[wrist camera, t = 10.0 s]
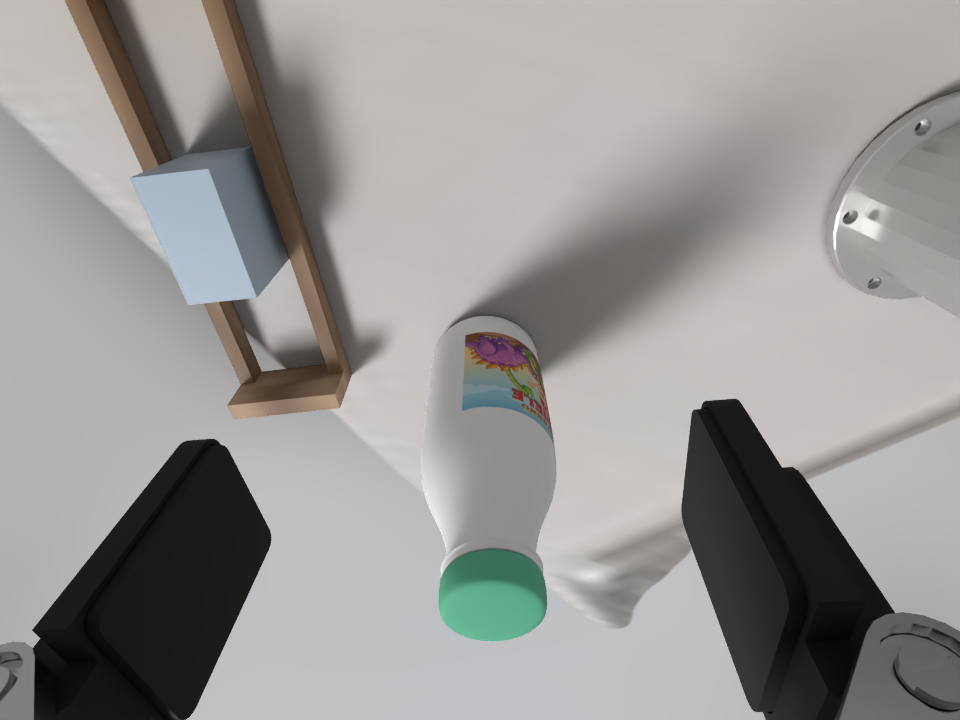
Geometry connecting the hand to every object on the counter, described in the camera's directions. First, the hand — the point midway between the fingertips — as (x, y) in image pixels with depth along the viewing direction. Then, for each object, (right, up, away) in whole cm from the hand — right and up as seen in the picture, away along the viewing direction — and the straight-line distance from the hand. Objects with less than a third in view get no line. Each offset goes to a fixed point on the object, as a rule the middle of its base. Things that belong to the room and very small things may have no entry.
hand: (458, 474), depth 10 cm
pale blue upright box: (-15, +12, +22) cm, 29 cm away
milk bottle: (+1, +3, +28) cm, 28 cm away
